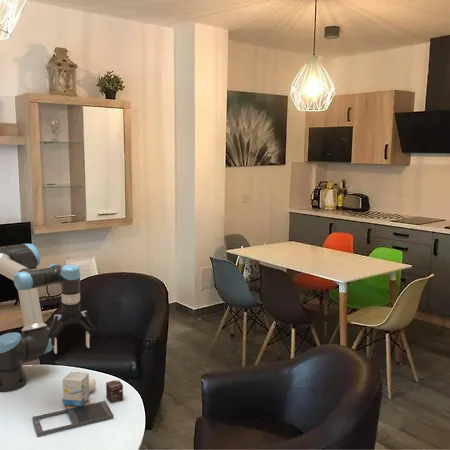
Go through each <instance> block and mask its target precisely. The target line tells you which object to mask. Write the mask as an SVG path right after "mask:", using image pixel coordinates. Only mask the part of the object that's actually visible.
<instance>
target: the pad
mask: <svg viewBox="0 0 450 450" xmlns="http://www.w3.org/2000/svg"><path fill="white" fill-rule="evenodd" d="M62 401H63V398H62ZM88 404H92V403H91V402H90V400H89V399H88V400H87V401H86V402H85V403H84V404H83V405H88ZM83 405H82V406H83ZM64 407H65V410H66V409H70V408H75V407H79V406H70V405H64Z"/></svg>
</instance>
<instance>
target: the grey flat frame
mask: <svg viewBox="0 0 450 450" xmlns="http://www.w3.org/2000/svg"><path fill="white" fill-rule="evenodd" d="M62 415H67V416H68V418H69V422H70V423H71V424H67V425H63V426H59V427H55V428H54V427H53V428H49V429H46V430H43V427H42V424H41V421H40V420H44V419H48V418H54V417H58V416H62ZM114 416H115V415H114V413H113V412H112V410H111V409H110V407H109V405H108V403H107V402H106V400H103V401H96V402H93V403H91V404H88V405H83V406H79V407H75V408H70V409H66V408H65V409H63V410H62V409H61V410H58V411H53V412H48V413H45V414H39V415H35V416H32V418H31V421H32V424H33V427H34V431H35V434H36V437H37V438H39V437H43V436H48V435H51V434H56V433H59V432H63V431H67V430H68V431H69V430H71V429H75V428H80V427H85V426H89V425H92V424H96V423H100V422H105V421H109V420H113V419H114ZM114 420H115V419H114Z"/></svg>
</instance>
